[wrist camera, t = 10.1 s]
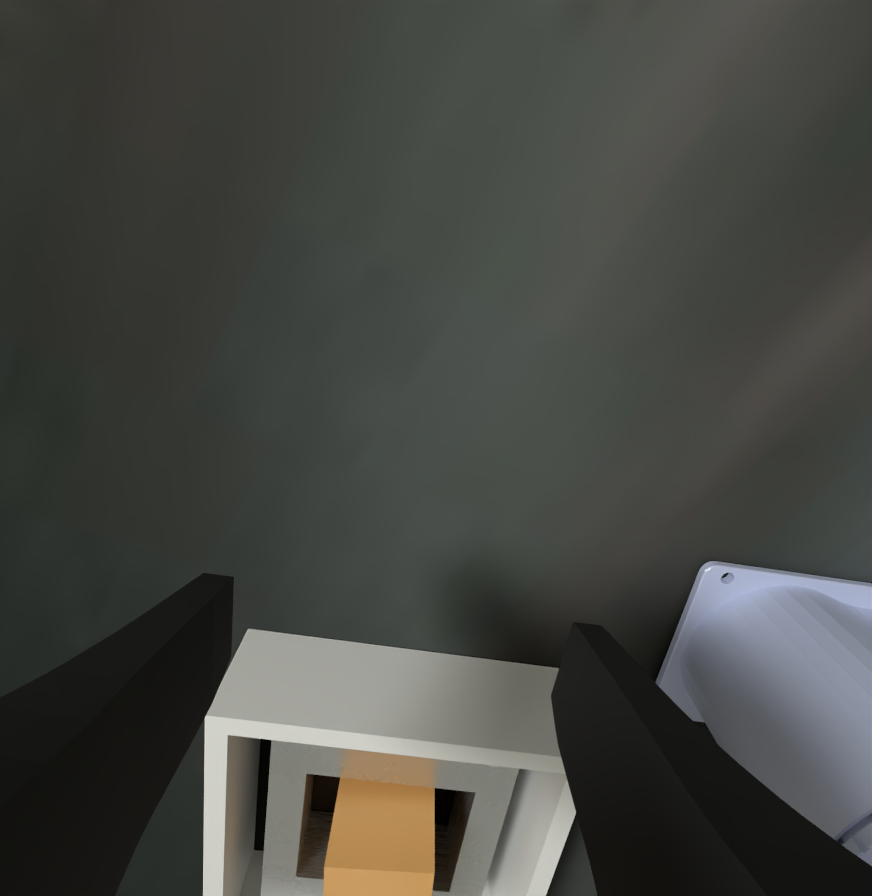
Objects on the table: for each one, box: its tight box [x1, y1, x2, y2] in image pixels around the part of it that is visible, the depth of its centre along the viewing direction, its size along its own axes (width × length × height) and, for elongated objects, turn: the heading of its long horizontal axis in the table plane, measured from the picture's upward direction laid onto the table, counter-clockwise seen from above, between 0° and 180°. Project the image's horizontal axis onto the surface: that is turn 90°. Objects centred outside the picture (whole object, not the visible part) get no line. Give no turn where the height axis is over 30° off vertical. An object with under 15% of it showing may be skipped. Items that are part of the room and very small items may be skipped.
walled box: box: [203, 629, 576, 896], centre depth 23 cm, size 14×15×4 cm
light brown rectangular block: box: [323, 777, 435, 896], centre depth 23 cm, size 4×5×6 cm
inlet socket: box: [261, 740, 519, 896], centre depth 24 cm, size 10×10×3 cm
